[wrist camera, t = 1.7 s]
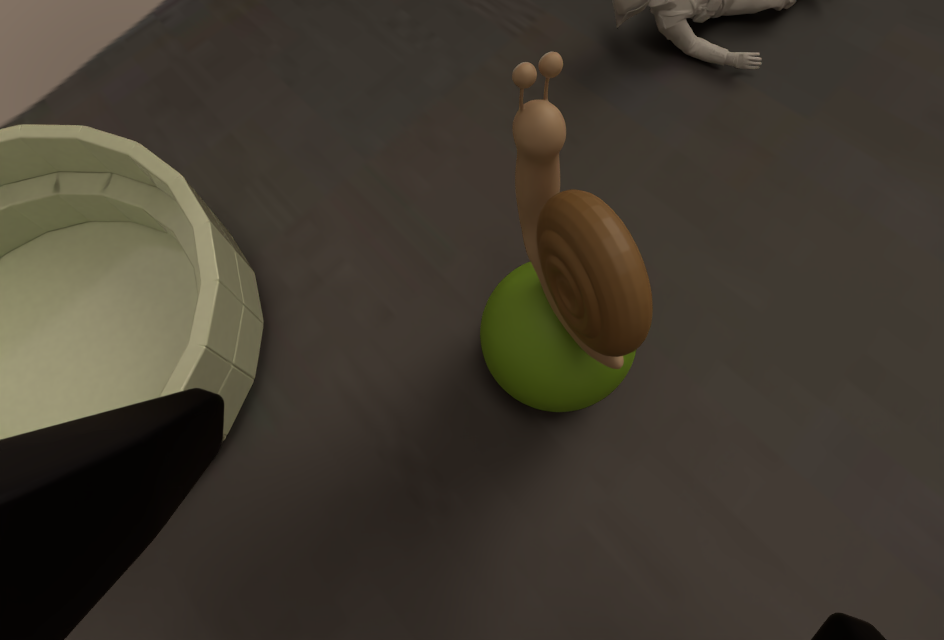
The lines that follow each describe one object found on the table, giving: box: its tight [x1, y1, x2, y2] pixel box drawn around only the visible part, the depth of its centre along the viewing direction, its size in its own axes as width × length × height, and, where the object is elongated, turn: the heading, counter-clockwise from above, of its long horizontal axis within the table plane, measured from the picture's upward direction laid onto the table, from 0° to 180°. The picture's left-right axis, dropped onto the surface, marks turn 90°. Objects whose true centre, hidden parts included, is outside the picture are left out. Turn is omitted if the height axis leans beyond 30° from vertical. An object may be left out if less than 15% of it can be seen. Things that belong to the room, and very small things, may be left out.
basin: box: [0, 125, 264, 442], centre depth 20 cm, size 14×14×5 cm
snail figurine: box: [480, 52, 653, 412], centre depth 17 cm, size 5×6×12 cm
